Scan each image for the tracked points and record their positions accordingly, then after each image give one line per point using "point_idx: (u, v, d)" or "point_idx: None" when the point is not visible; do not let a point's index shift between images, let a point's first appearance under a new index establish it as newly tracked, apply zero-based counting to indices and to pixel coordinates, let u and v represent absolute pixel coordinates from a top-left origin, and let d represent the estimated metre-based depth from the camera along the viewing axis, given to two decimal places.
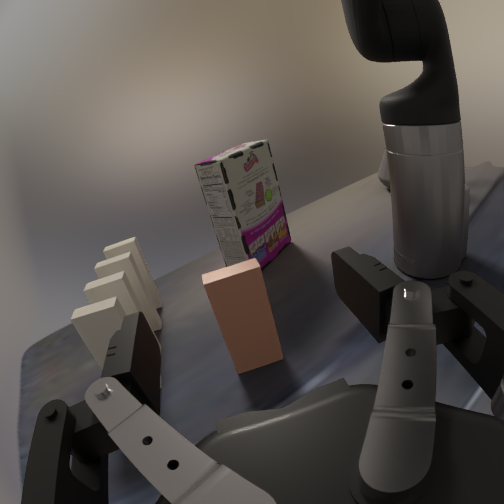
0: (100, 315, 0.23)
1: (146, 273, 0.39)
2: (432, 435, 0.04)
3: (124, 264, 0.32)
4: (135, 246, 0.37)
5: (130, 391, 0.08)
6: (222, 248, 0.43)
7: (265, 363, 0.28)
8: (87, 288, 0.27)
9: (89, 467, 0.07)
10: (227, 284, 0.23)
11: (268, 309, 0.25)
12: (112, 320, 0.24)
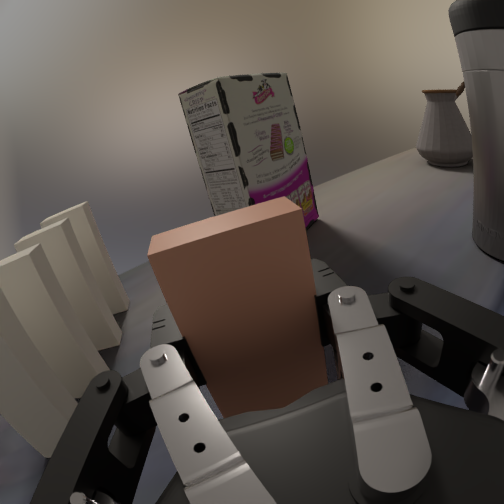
0: None
1: (101, 257, 0.24)
2: (421, 427, 0.04)
3: (54, 237, 0.18)
4: (84, 214, 0.22)
5: (185, 358, 0.09)
6: None
7: None
8: None
9: (130, 441, 0.08)
10: (212, 257, 0.09)
11: (314, 323, 0.10)
12: None
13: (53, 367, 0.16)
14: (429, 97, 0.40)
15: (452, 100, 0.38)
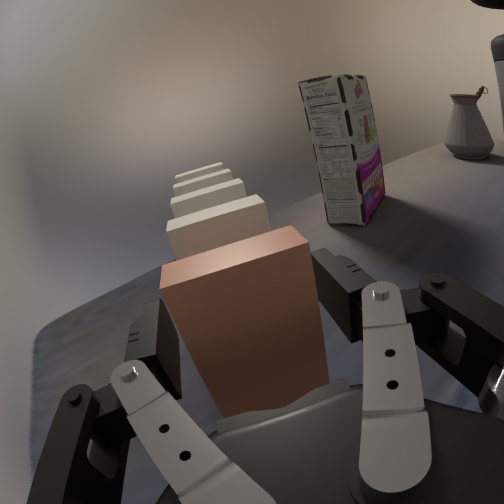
0: (233, 221, 0.14)
1: None
2: (427, 431, 0.04)
3: (222, 182, 0.23)
4: None
5: (155, 374, 0.09)
6: (324, 188, 0.33)
7: None
8: (177, 201, 0.18)
9: (108, 454, 0.07)
10: (222, 289, 0.09)
11: (318, 346, 0.11)
12: (253, 232, 0.14)
13: None
14: (456, 101, 0.46)
15: (475, 104, 0.44)
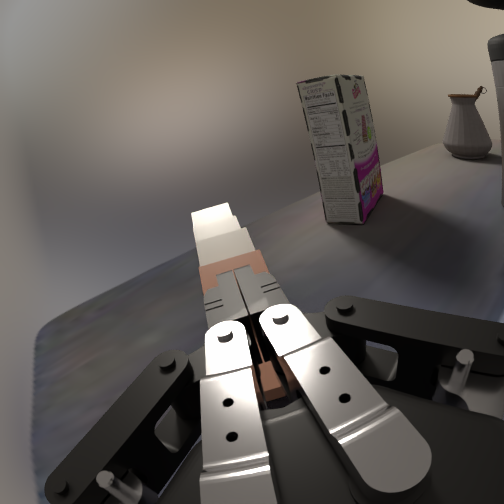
0: (229, 235, 0.26)
1: None
2: (407, 423, 0.04)
3: (221, 207, 0.36)
4: None
5: (248, 335, 0.09)
6: (322, 188, 0.33)
7: (277, 384, 0.15)
8: (197, 228, 0.31)
9: (182, 424, 0.08)
10: (223, 266, 0.21)
11: None
12: (239, 238, 0.26)
13: None
14: (454, 100, 0.46)
15: (473, 103, 0.44)
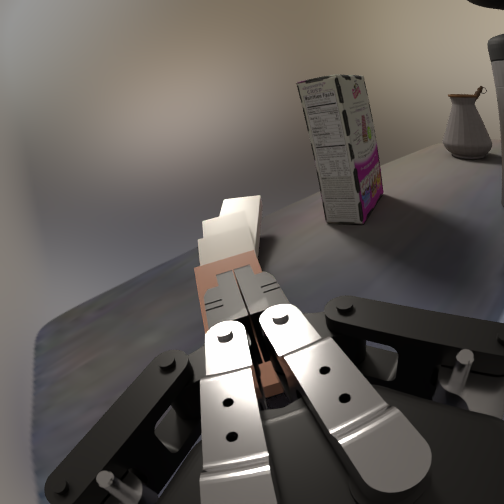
0: (230, 233, 0.27)
1: None
2: (407, 422, 0.04)
3: (253, 199, 0.36)
4: None
5: (248, 334, 0.09)
6: (322, 188, 0.33)
7: (268, 382, 0.15)
8: (207, 221, 0.32)
9: (182, 424, 0.08)
10: (218, 266, 0.22)
11: None
12: (240, 236, 0.26)
13: None
14: (454, 100, 0.46)
15: (473, 103, 0.44)
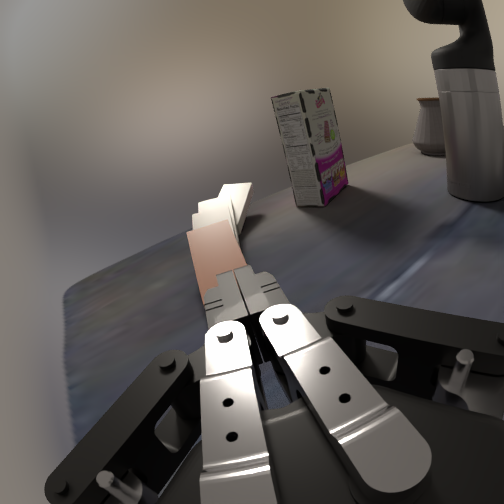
0: (215, 210, 0.37)
1: None
2: (407, 422, 0.04)
3: (245, 185, 0.46)
4: None
5: (248, 334, 0.09)
6: (292, 178, 0.43)
7: None
8: (201, 203, 0.42)
9: (182, 424, 0.08)
10: (203, 230, 0.31)
11: (235, 242, 0.29)
12: (222, 212, 0.36)
13: None
14: (422, 104, 0.56)
15: (439, 106, 0.54)
